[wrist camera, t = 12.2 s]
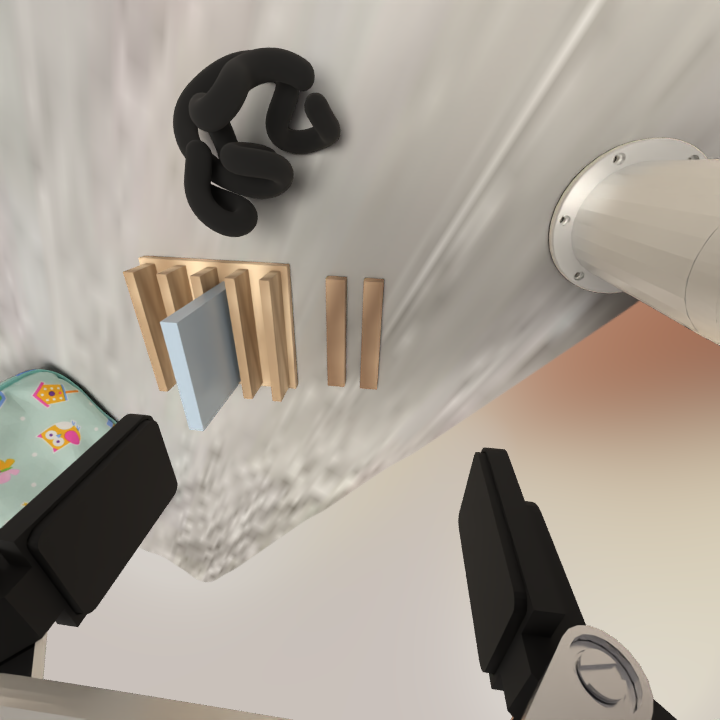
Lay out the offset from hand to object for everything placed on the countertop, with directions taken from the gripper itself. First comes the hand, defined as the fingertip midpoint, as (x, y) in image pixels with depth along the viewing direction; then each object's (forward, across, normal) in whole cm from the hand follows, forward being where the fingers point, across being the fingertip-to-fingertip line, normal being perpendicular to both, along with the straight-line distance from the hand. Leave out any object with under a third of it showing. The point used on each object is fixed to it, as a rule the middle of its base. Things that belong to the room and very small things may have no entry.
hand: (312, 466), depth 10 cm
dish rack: (+28, +17, +9) cm, 34 cm away
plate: (+27, +15, +9) cm, 33 cm away
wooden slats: (+28, +2, +9) cm, 30 cm away
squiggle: (+28, +10, -10) cm, 32 cm away
